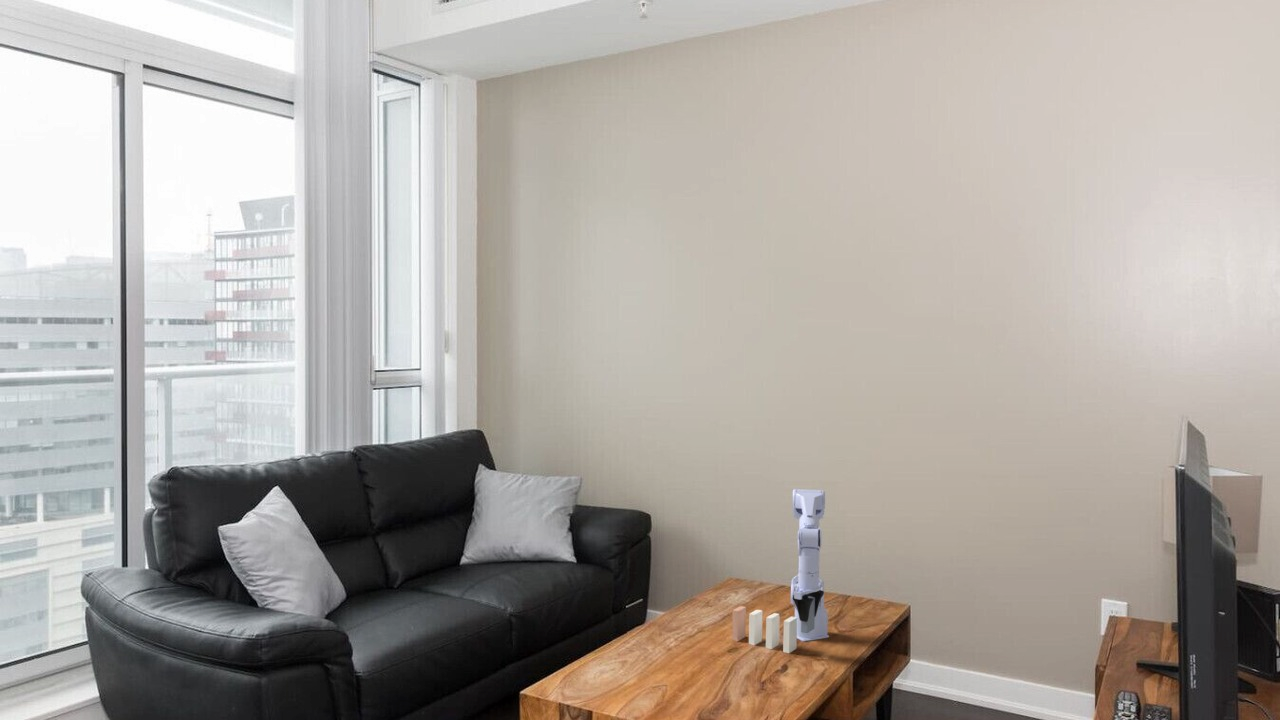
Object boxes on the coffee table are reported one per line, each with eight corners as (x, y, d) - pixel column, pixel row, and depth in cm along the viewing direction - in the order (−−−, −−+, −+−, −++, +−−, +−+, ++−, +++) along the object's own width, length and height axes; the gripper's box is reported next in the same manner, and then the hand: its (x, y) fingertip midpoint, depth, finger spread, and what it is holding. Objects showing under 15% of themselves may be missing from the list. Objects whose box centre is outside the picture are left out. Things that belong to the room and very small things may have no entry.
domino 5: (814, 628, 265) (814, 597, 264) (806, 633, 260) (807, 601, 260) (808, 627, 266) (809, 596, 265) (801, 632, 261) (801, 600, 261)
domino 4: (796, 648, 268) (797, 617, 268) (788, 653, 264) (789, 622, 264) (790, 647, 269) (791, 616, 269) (783, 652, 265) (783, 620, 265)
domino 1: (745, 636, 277) (746, 607, 277) (737, 641, 273) (738, 611, 273) (740, 635, 279) (740, 606, 278) (732, 640, 274) (732, 610, 274)
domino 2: (762, 640, 274) (762, 610, 274) (754, 645, 270) (754, 614, 270) (756, 639, 275) (757, 609, 275) (748, 644, 271) (749, 613, 271)
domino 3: (779, 644, 271) (779, 614, 271) (771, 649, 267) (771, 618, 267) (773, 643, 272) (774, 612, 272) (765, 648, 268) (766, 617, 268)
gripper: (806, 563, 271) (805, 609, 271) (784, 574, 259) (783, 622, 259) (829, 567, 267) (828, 613, 267) (808, 578, 255) (807, 627, 255)
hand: (807, 618), depth 263 cm, fingers closed on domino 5, 5 cm apart
